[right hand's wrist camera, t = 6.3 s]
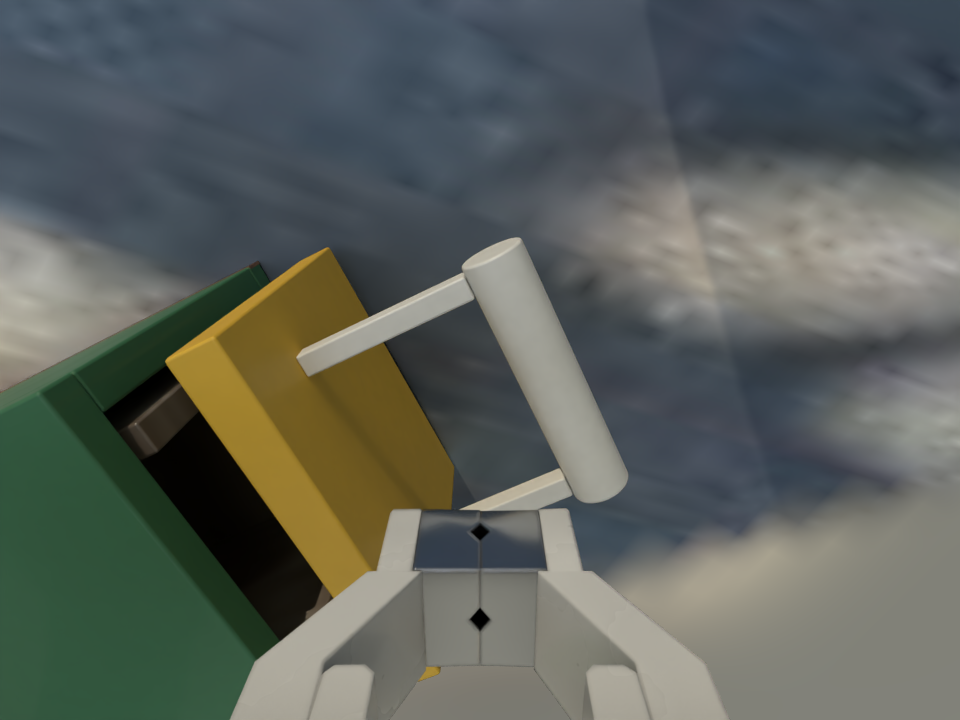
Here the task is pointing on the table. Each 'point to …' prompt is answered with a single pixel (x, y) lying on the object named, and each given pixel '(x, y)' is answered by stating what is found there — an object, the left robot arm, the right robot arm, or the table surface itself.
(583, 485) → the drawer
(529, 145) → the table surface
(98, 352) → the cabinet
